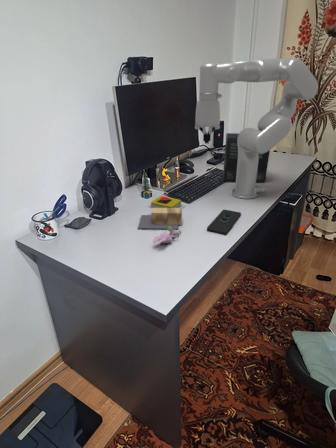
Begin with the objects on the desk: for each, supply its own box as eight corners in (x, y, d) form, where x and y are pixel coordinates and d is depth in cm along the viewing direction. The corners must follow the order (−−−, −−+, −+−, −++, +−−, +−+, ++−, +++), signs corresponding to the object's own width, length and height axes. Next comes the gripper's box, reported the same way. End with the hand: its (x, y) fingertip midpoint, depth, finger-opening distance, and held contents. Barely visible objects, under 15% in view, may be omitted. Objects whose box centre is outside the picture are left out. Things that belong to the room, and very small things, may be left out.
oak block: (181, 208, 126) (152, 207, 126) (181, 213, 121) (151, 212, 122) (181, 219, 128) (152, 218, 129) (181, 224, 123) (151, 224, 124)
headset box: (262, 176, 177) (268, 129, 165) (266, 183, 166) (272, 134, 154) (222, 175, 179) (225, 129, 167) (223, 182, 168) (227, 134, 157)
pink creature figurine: (170, 234, 121) (147, 245, 109) (171, 220, 119) (148, 230, 107) (184, 238, 117) (162, 250, 105) (185, 224, 115) (163, 234, 103)
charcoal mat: (179, 216, 131) (179, 215, 131) (178, 230, 121) (178, 228, 120) (141, 216, 132) (141, 214, 132) (137, 229, 122) (137, 228, 121)
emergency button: (158, 192, 146) (186, 198, 139) (158, 201, 148) (186, 207, 141) (147, 199, 139) (176, 205, 132) (147, 208, 141) (176, 214, 134)
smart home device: (241, 212, 131) (226, 232, 116) (241, 216, 132) (226, 236, 116) (223, 208, 135) (205, 228, 119) (222, 212, 135) (205, 232, 120)
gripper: (226, 96, 129) (223, 140, 137) (190, 96, 130) (189, 141, 138) (227, 98, 122) (224, 144, 130) (190, 98, 123) (189, 144, 131)
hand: (206, 142), depth 134 cm, fingers closed
